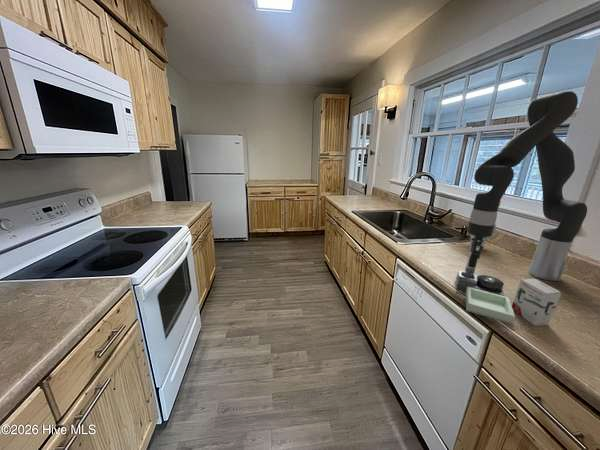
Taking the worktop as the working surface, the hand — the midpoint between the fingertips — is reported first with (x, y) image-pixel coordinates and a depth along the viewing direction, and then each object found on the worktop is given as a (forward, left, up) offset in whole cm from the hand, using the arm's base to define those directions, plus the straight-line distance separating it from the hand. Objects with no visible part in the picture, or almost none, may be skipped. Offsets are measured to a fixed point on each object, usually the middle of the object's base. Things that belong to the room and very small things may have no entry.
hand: (471, 264), depth 92 cm
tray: (-6, +12, -10) cm, 16 cm away
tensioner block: (-4, 0, -10) cm, 10 cm away
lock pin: (0, 0, -3) cm, 3 cm away
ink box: (-17, +10, -10) cm, 22 cm away
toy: (-7, -54, -10) cm, 55 cm away
